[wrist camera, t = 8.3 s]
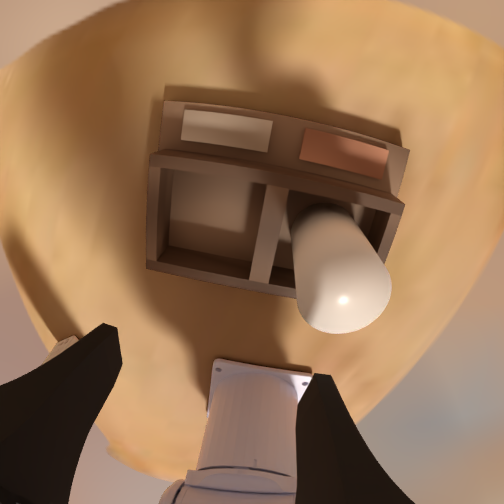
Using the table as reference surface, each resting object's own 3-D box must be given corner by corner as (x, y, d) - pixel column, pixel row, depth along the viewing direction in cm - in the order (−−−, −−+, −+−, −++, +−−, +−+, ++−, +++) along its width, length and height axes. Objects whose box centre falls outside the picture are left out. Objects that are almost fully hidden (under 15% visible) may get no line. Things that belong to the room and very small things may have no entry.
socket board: (359, 285, 18) (369, 313, 15) (158, 247, 18) (139, 270, 16) (403, 147, 14) (426, 155, 11) (170, 101, 14) (148, 99, 11)
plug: (342, 270, 17) (367, 339, 11) (283, 255, 16) (284, 324, 11) (364, 213, 15) (406, 264, 10) (301, 194, 15) (315, 239, 9)
